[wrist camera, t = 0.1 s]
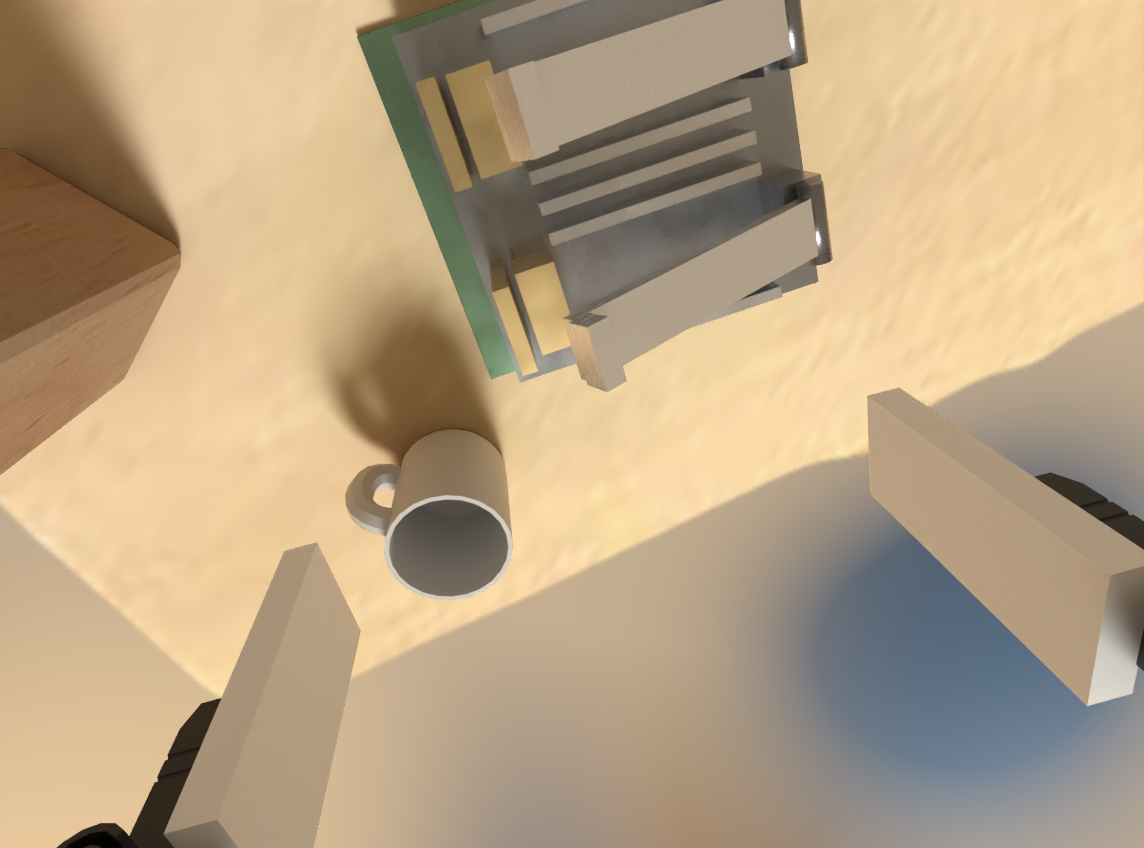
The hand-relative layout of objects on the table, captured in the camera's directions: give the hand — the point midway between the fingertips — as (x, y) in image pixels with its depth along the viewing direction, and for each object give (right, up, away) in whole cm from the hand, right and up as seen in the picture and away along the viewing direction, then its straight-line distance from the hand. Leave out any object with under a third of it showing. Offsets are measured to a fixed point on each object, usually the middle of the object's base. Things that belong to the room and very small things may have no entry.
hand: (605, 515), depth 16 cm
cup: (-10, -1, +30) cm, 32 cm away
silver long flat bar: (+5, +9, +15) cm, 18 cm away
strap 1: (+2, +16, +11) cm, 20 cm away
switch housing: (+1, +17, +23) cm, 29 cm away
